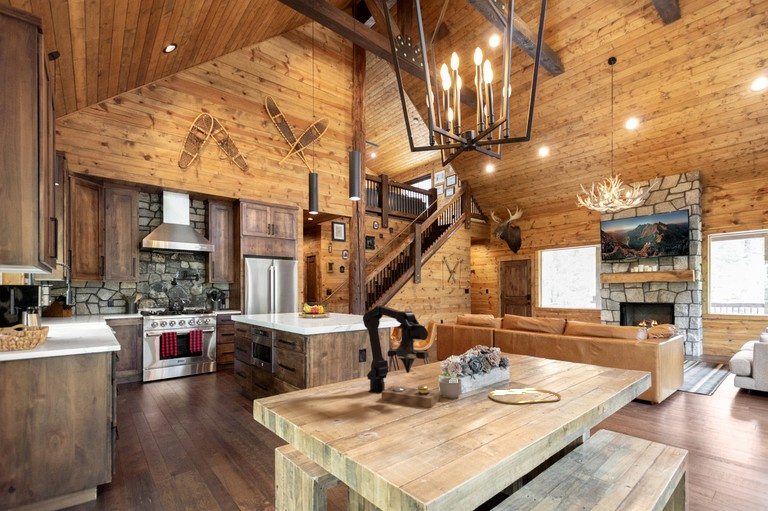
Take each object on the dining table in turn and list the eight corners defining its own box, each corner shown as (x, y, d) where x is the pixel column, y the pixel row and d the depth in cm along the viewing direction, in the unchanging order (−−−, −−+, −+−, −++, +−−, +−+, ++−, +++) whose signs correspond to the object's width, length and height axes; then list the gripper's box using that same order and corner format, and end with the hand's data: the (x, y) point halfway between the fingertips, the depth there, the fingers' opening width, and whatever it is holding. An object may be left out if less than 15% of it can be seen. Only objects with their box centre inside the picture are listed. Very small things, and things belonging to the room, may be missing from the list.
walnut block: (381, 400, 177) (381, 391, 178) (392, 394, 188) (392, 385, 188) (431, 407, 167) (431, 398, 167) (439, 400, 178) (439, 391, 178)
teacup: (463, 400, 179) (463, 382, 179) (440, 399, 179) (440, 382, 180) (458, 391, 193) (458, 375, 193) (436, 391, 193) (436, 375, 194)
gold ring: (481, 395, 189) (481, 391, 189) (544, 391, 196) (544, 388, 196) (501, 406, 170) (501, 403, 171) (570, 402, 178) (570, 398, 178)
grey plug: (392, 396, 179) (392, 389, 179) (396, 394, 183) (396, 386, 184) (401, 398, 177) (401, 390, 177) (405, 395, 181) (405, 388, 182)
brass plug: (416, 394, 174) (416, 387, 174) (419, 392, 178) (419, 384, 179) (426, 396, 172) (426, 388, 172) (429, 393, 176) (429, 386, 177)
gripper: (381, 339, 177) (382, 374, 176) (419, 341, 169) (420, 377, 168) (392, 337, 187) (392, 369, 186) (428, 338, 179) (429, 373, 177)
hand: (407, 372), depth 179 cm, fingers closed
